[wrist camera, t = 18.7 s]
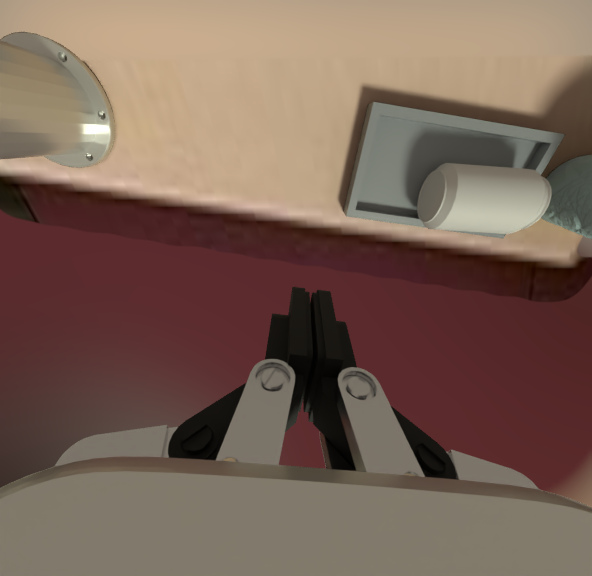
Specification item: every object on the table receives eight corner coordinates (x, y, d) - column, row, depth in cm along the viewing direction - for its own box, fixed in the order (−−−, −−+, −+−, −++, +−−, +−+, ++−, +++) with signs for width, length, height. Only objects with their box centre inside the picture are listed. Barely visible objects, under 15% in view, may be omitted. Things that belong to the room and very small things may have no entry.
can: (458, 190, 25) (574, 198, 25) (438, 148, 29) (539, 156, 29) (421, 241, 31) (515, 247, 31) (409, 201, 35) (492, 207, 35)
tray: (343, 211, 35) (346, 216, 33) (368, 104, 29) (373, 101, 27) (491, 232, 37) (503, 238, 35) (546, 134, 30) (565, 134, 28)
